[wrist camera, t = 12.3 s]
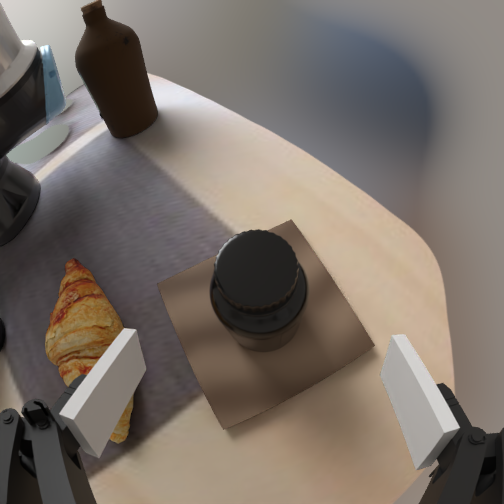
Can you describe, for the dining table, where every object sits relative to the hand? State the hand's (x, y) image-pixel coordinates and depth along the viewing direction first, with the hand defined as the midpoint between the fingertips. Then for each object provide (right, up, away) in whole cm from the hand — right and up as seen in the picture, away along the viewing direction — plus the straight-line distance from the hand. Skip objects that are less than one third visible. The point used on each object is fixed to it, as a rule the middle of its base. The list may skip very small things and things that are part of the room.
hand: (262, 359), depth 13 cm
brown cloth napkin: (0, -1, +14) cm, 14 cm away
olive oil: (-22, +29, +31) cm, 48 cm away
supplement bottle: (0, -1, +13) cm, 13 cm away
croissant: (-18, -6, +13) cm, 23 cm away
